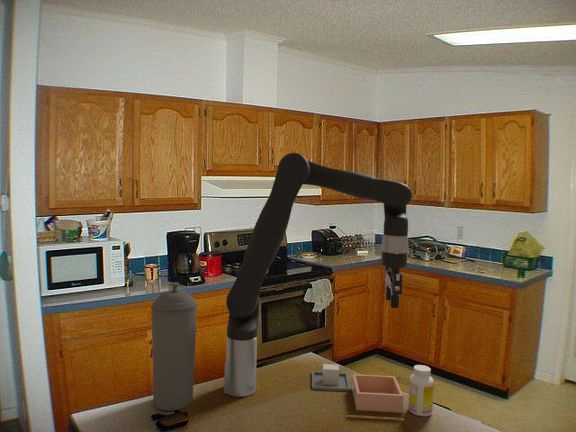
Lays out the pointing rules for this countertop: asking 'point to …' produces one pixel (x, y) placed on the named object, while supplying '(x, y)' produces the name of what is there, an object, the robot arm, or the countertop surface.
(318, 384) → the tray
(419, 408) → the supplement bottle
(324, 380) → the cream rectangular block
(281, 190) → the robot arm
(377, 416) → the countertop surface
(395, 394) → the bin
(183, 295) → the canister
